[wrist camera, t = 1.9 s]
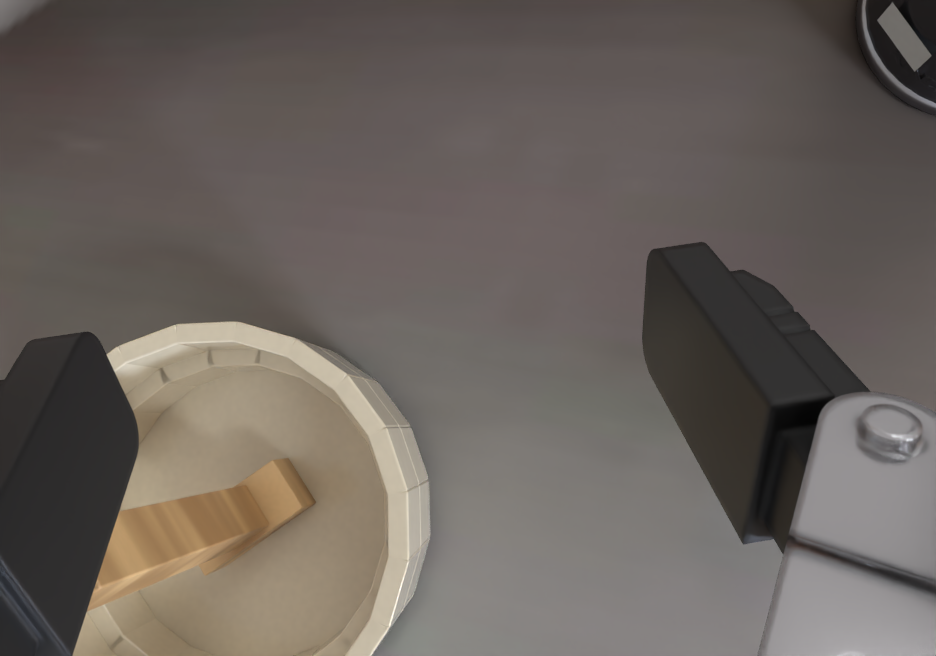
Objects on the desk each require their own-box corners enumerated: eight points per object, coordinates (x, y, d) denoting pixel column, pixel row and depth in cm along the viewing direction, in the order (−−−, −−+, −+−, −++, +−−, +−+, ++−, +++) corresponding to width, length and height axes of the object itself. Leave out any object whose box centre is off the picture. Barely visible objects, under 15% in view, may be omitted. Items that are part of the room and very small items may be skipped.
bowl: (228, 276, 35) (164, 246, 29) (500, 465, 33) (491, 475, 27) (33, 553, 34) (-73, 580, 28) (298, 767, 32) (243, 846, 26)
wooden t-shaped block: (288, 457, 33) (107, 482, 19) (317, 502, 32) (153, 560, 19) (197, 521, 33) (-50, 592, 19) (224, 567, 32) (-7, 673, 19)
